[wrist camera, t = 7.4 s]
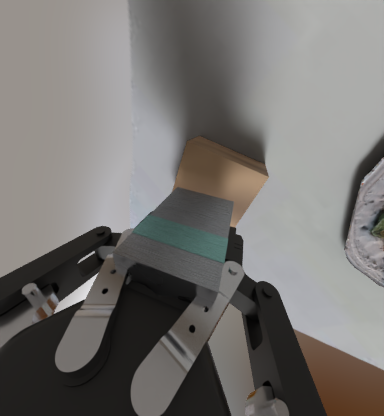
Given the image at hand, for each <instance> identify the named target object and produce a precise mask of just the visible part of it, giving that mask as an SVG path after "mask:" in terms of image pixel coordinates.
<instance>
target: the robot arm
mask: <svg viewBox="0 0 384 416" xmlns="http://www.w3.org/2000/svg"><path fill="white" fill-rule="evenodd" d="M152 212H153V211H152ZM152 212H150V213H149V214H151V213H152ZM149 214H148V215H149ZM148 215H147V216H148ZM147 216H146V217H147ZM146 217H145V218H146ZM145 218H144V219H145ZM144 219H143V220H144ZM143 220H142V221H143ZM142 221H141V222H142ZM141 222H140V223H141ZM140 223H139V224H140ZM139 224H138V225H139ZM138 225H137V226H138ZM137 226H136V227H137ZM136 227H135V228H136ZM135 228H134V229H135ZM134 229H128V230H125V231H124V232H123V233H112V232H111V229H110V228H109V227H106V226H101V227H97V228H94V229H93V230H91V231H89V232H87V233H85V234H83V235H81V236H79V237H77V238H75V239H74V240H72V241H70V242H68V243H66V244H64V245H62V246H60V247H58V248H56V249H55V250H53V251H51V252H49V253H47V254H45V255H43V256H41V257H39V258H37V259H35V260H34V261H32V262H30V263H28V264H26V265H24V266H22V267H20V268H18V269H16V270H14V271H13V272H11V273H9V274H7V275H5V276H3V277H1V278H0V416H231V413H230V409H229V407H228V403H227V400H226V397H225V394H224V391H223V388H222V385H221V381H220V378H219V375H218V372H217V369H216V366H215V363H214V360H213V357H212V353H211V350H210V347H209V345H208V341H209V339H210V337H211V335H212V333H213V332H214V330H215V328H216V326H217V325H218V322H219V321H220V319H221V317H222V316H223V314H224V312H225V310H226V309H227V307H228V305H229V303H231V304H232V305H233V306H234V307H236V308H237V309H238V310H240V311H241V312H242V318H243V324H244V329H245V335H246V340H247V346H248V353H249V358H250V363H251V369H252V376H253V382H254V387H255V391H253V392H251V393H250V394H249V395H248V397H247V400H246V406H245V410H246V416H327V414H326V412H325V409H324V407H323V404H322V402H321V399H320V397H319V394H318V392H317V389H316V386H315V384H314V381H313V379H312V376H311V374H310V371H309V369H308V366H307V363H306V361H305V358H304V356H303V353H302V351H301V348H300V346H299V343H298V341H297V338H296V335H295V333H294V330H293V328H292V325H291V323H290V320H289V318H288V315H287V313H286V310H285V307H284V305H283V302H282V300H281V297H280V295H279V292H278V291H277V289H276V288H275V287H274V286H273V285H271V284H270V283H268V282H265V281H260V282H258V283H257V282H255V281H254V280H252V279H251V278H249V277H248V276H247V275H246V274H245V272H244V270H243V268H242V259H243V239H242V237H241V236H240V235H237V234H236V228H235V227H231V226H230V229H229V235H228V244H227V250H226V256H225V262H224V265H223V270H222V275H221V281H220V287H219V293H218V295H217V297H216V300H215V302H212V301H210V300H207V299H205V298H202V297H200V296H196V297H195V298H194V300H193V301H192V302H191V304H190V303H187V302H185V301H182V300H180V299H178V298H175V297H167V296H159V295H156V294H155V293H154V292H153V291H151V290H150V289H149V288H148V287H146V286H145V285H143V284H140V283H138V282H135V281H133V280H131V281H130V282H129V284H126V282H127V279H128V276H129V273H128V268H125V267H123V266H120V265H118V264H115V263H114V258H113V254H112V252H113V251H114V250H115V249H116V248H117V247H118V246H119V245H120V244H121V243H122V242H123V241H124V240H125V239H126V238H127V237H128V236H129V235H130V234H131V233H132V231H133V230H134ZM93 251H95V253H94V254H93V255H91V256H89V257H88V258H86V259H85V260H83V261H81V262H80V263H78V262H79V260H80V259H82V258H83V257H85V256H86V255H88V254H89V253H91V252H93ZM77 263H78V264H77ZM98 272H99V273H98ZM97 273H98V275H97V277H96V279H95V281H94V283H93V285H92V287H91V289H90V291H89V293H88V295H87V297H86V299H85V300H82V301H80V302H78V303H76V304H74V305H72V306H70V307H68V308H66V309H64V310H62V311H60V312H57V313H55V314H54V312H55V309H56V307H57V305H58V303H59V302H60V301H61V300H63V299H64V298H65V297H66V296H68V295H69V294H70V293H72V292H73V291H74V290H76V289H77V288H78V287H80V286H81V285H82V284H84V283H85V282H86V281H88V280H89V279H90V278H92V277H93V276H94V275H96V274H97Z"/></svg>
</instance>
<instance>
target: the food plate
mask: <svg viewBox="0 0 384 416" xmlns="http://www.w3.org/2000/svg"><path fill="white" fill-rule="evenodd" d="M345 247H347V248H344V250H345V252H346V256H347V257H346V258H347V259H348V260H349V262H350V263H351V264H352V265H353V266H354V267H355V268H356V269H358V270H359V271H361V272H362V273H363V274H365V275H366V276H368V277H369V278H370V279H371V280H373V281H374V282H375V283H376V284H378V285H379V286H382V287H384V157H383V158H382V159H381V161H380V162H378V164H377V165H376V166H375V167H374V169H372V170H371V172H370V173H368V174H367V175H366V176H365V177H364V178H363V180H362V183H361V184H360V189H359V192H358V196H357V200H356V204H355V209H354V210H353V215H352V220H351V223H350V229H349V232H348V236H347V241H346V245H345Z"/></svg>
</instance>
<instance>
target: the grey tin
mask: <svg viewBox="0 0 384 416" xmlns="http://www.w3.org/2000/svg"><path fill="white" fill-rule="evenodd" d="M233 206H234V201H230V200H226V199H222V198H218V197H215V196H211V195H207V194H203V193H199V192H195V191H192V190H188V189H184V188H180V187H177V188H176V189H175V190H174V191H173V192H172V193H171V194H170V195H169V196H168V197H167V198H166V199H165V200H164V201H163V202H162V203H161V204H160V205H159V206H158V207H157V208H156V209H155V210H154V211H153V212H152V213H151V214H149V215H148V216H147V217H146V218H145V219H144V220H143V221H142V222H141V223H140V224H139V225H138V226H137V227H136V228H135V229H134V230H133V231H132V233H131V234H130V235H129V236H128V237H127V238H126V239H125V240H124V241H123V242H122V243H121V244H120V245H119V246H118V247H117V248H116V249H115V250H114V251H113V252H112V254H113V258H114V263H115V264H118V265H120V266H123V267H125V268H128V273H129V276H128V279H127V282H126V284H129V282H130V281H131V280H133V281H135V282H138V283H140V284H143V285H145V286H146V287H148V288H149V289H150V290H151V291H153V292H154V293H155V294H156V295H159V296H167V297H175V298H178V299H180V300H182V301H185V302H187V303H190V304H191V302H192V301H193V300H194V298H195V297H196V296H200V297H202V298H205V299H207V300H210V301H212V302H215V300H216V297H217V295H218V293H219V287H220V281H221V275H222V270H223V265H224V262H225V256H226V250H227V244H228V235H229V229H230V223H231V217H232V212H233Z"/></svg>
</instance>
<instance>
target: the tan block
mask: <svg viewBox="0 0 384 416" xmlns="http://www.w3.org/2000/svg"><path fill="white" fill-rule="evenodd" d="M268 178H269V176H268V173H267V169H266V166H265V164H263V163H261V162H259V161H256V160H254V159H252V158H249V157H247V156H245V155H242V154H240V153H238V152H235V151H233V150H231V149H229V148H226V147H224V146H222V145H219V144H217V143H215V142H212V141H210V140H208V139H205V138H203V137H201V136H198V137H195V138H193V139H191V140H188V141H187V143H186V146H185V150H184V153H183V156H182V160H181V163H180V167H179V170H178V174H177V177H176V180H175V184H174V187H173V191H174V190H175V189H176V188H177V187H180V188H184V189H188V190H192V191H195V192H199V193H203V194H207V195H211V196H215V197H218V198H222V199H226V200H230V201H234V206H233V212H232V217H231V223H230V226H231V227H235V226H236V225H237V223H238V222H239V220H240V219H241V217H242V216H243V214H244V213H245V212H246V210H247V209H248V207H249V206H250V204H251V203H252V201H253V200H254V198H255V197H256V195H257V194H258V192H259V191H260V189H261V188H262V186H263V185H264V183H265V182H266V181H267V179H268ZM173 191H172V192H173Z"/></svg>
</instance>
